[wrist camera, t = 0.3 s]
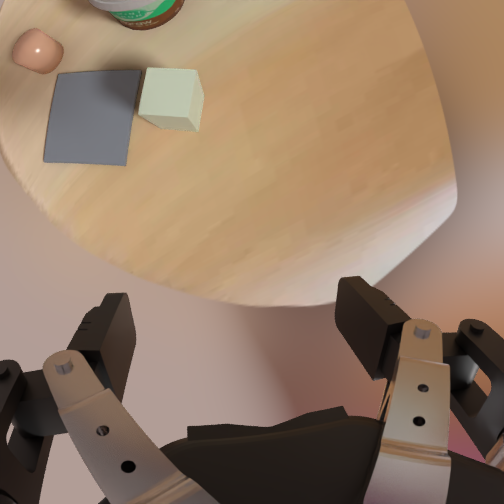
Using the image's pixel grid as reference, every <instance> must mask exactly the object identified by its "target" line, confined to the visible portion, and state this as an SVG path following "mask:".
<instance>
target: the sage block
mask: <svg viewBox="0 0 504 504" xmlns="http://www.w3.org/2000/svg"><path fill="white" fill-rule="evenodd" d="M203 101H204V93H203V90H202V86H201V83H200V80H199V76H198V73H197V70H192V69H176V68H147V71H146V76H145V80H144V85H143V90H142V95H141V101H140V106H139V112H138V115H140V116H141V117H143V118H145V119H146V120H148V121H149V122H151V123H152V124H154V125H156V126H157V127H159V128H160V129H169V130H182V131H192V132H198V131H199V125H200V119H201V113H202V107H203Z"/></svg>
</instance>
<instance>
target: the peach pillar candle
mask: <svg viewBox="0 0 504 504" xmlns="http://www.w3.org/2000/svg"><path fill="white" fill-rule="evenodd" d="M63 53H64V49H63V46H62V45H61V44H60V43H59V42H57V41H56V40H54V39H53V38H52V37H50V36H49V35H47V34H46V33H44V32H43V31H41V30H40V29H38V28H33V29H30V30H28V31H26V32H25V33H24V34H23V35H22V36H21V37H20V38H19V39H18V41H17V42H16V44H15V46H14V49H13V53H12V57H13V60H14V62H15V63H17V64H20V65H22V66H24V67H26V68H29V69H31V70H33V71H35V72H38V73H40V74H47V73H49V72H51V71H53V70H54V69H55V68H56V67H57V66H58V65H59V63H60V62H61V60H62V57H63Z"/></svg>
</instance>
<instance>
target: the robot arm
mask: <svg viewBox="0 0 504 504" xmlns="http://www.w3.org/2000/svg"><path fill="white" fill-rule="evenodd" d="M335 322H336V326H337V328H338V330H339V331H340V332H341V334H342V335H343V337H344V338H345V340H346V341H347V343H348V344H349V345H350V347H351V349H352V350H353V352H354V353H355V355H356V356H357V357H358V359H359V360H360V362H361V363H362V365H363V366H364V368H365V369H366V371H367V372H368V374H369V375H370V377H371V378H372V380H373V381H375V380H379V379H382V378H386V379H387V382H386V385H385V389H384V393H383V396H382V400H381V404H380V407H379V411H378V414H377V418H376V419H372V418H369V417H362V416H348V415H347V413H346V411H345V410H344V407H343V406H340V407H335V408H330V409H325V410H320V411H315V412H310V413H306V414H304V415H301V416H299V417H296V418H294V419H291V420H288V421H286V422H283V423H280V424H278V425H275V426H272V427H258V426H244V425H234V424H218V425H204V426H188V427H187V433H188V434H187V436H188V437H187V438H183V439H180V440H177V441H174V442H171V443H169V444H167V445H165V446H163V447H161V448H160V449H159V448H158V447H157V446H156V445H155V444H154V443H153V442H152V441H151V439H150V438H149V437H148V436H147V435H146V434H145V433H144V431H143V430H142V429H141V428H140V427H139V425H138V424H137V423H136V422H135V421H134V419H133V418H132V417H131V416H130V414H129V413H128V412H127V410H126V409H125V408H124V407H123V405H122V404H121V403H122V399H123V394H124V390H125V386H126V382H127V377H128V373H129V369H130V365H131V361H132V357H133V353H134V349H135V345H136V331H135V326H134V321H133V317H132V312H131V308H130V302H129V298H128V295H127V293H107V294H106V296H105V297H104V299H103V301H102V303H101V305H100V307H94V308H93V309H91V310H90V311H89V312H88V313H86V315H85V316H84V318H83V320H82V322H81V324H80V325H79V327H78V330H77V331H76V333H75V334H74V336H73V338H72V340H71V342H70V344H69V345H68V347H67V349H66V350H63V351H59V352H57V353H54V354H53V355H51V356H50V357H48V358H47V359H46V361H45V362H44V364H43V369H42V370H36V371H31V372H25V373H23V371H22V370H21V367H20V365H19V364H18V363H17V362H16V361H14V360H3V361H0V504H39V500H40V494H41V488H42V484H43V479H44V474H45V470H46V465H47V461H48V457H49V452H50V448H51V445H52V440H53V437H54V435H56V434H62V433H69V435H70V437H71V439H72V441H73V443H74V445H75V447H76V448H77V450H78V452H79V454H80V455H81V457H82V459H83V461H84V463H85V464H86V466H87V468H88V469H89V471H90V473H91V474H92V476H93V478H94V479H95V481H96V482H97V484H98V486H99V487H100V489H101V490H102V492H103V493H104V495H105V496H106V497H105V498H104V499H103V500H102V501H101V502H100V503H98V504H504V339H503V338H502V337H501V336H500V335H498V334H497V333H496V332H495V331H494V330H492V328H491V327H489V326H488V325H487V324H485V323H484V322H482V321H479V320H475V319H465V320H463V321H461V322H460V325H459V328H458V331H457V333H442V331H441V329H440V328H439V327H438V326H437V325H436V324H434V323H433V322H430V321H428V320H424V319H411V318H410V317H409V316H408V315H407V314H406V313H405V312H404V311H403V310H402V309H400V308H399V307H398V306H397V305H395V303H394V302H393V301H392V300H390V298H389V297H388V296H387V295H386V294H385V293H384V292H382V291H380V290H378V289H376V288H374V287H372V286H370V285H369V284H368V283H367V282H366V281H365V280H364V279H362V278H361V277H360V276H353V277H343V278H341V279H340V280H339V283H338V291H337V299H336V308H335ZM479 368H480V369H481V370H482V371H483V372H484V373H485V374H486V375H487V376H488V377H489V379H490V381H491V386H492V387H491V392H490V394H489V396H488V397H487V396H486V394H485V393H484V392H483V391H482V390H481V388H480V387H479V386H478V385H477V384H476V382H475V381H474V378H475V375H476V373H477V371H478V369H479ZM450 409H451V411H452V412H453V413H454V415H455V416H456V418H457V419H458V421H459V422H460V423H461V425H462V426H463V428H464V429H465V430H466V432H467V433H468V435H469V436H470V438H471V439H472V441H473V442H474V444H475V445H476V446H477V448H478V450H479V451H480V453H481V454H482V456H483V457H484V459H485V463H486V464H485V463H482V462H479V461H476V460H474V459H471V458H468V457H465V456H463V455H460V454H458V453H455V452H452V451H450V450H447V446H448V433H449V416H450ZM11 423H12V424H13V426H14V429H13V432H12V434H11V437H10V440H9V443H8V445H7V441H6V435H7V432H8V429H9V426H10V424H11Z"/></svg>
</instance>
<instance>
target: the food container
mask: <svg viewBox="0 0 504 504" xmlns="http://www.w3.org/2000/svg"><path fill="white" fill-rule="evenodd" d="M88 1H89V2H90V3H91V4H92V5H93V6H94V7H96V8H98V9H101V10H105V11H109V12H110V13H111V14H112V15H113V16H114V17H115V18H116V19H117V20H119V21H120V22H121V23H122V24H123V25H124V26H125V27H128V28H130V29H133V30H148V29H153V28H156V27H159V26H161V25H163V24H165V23H166V22H168V21H169V20H171V19H172V18H173V17H174V16H175V15H176V14H177V13H178V12H179V11H180V9H181V7H182V6H183V3H184V0H88Z"/></svg>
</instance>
